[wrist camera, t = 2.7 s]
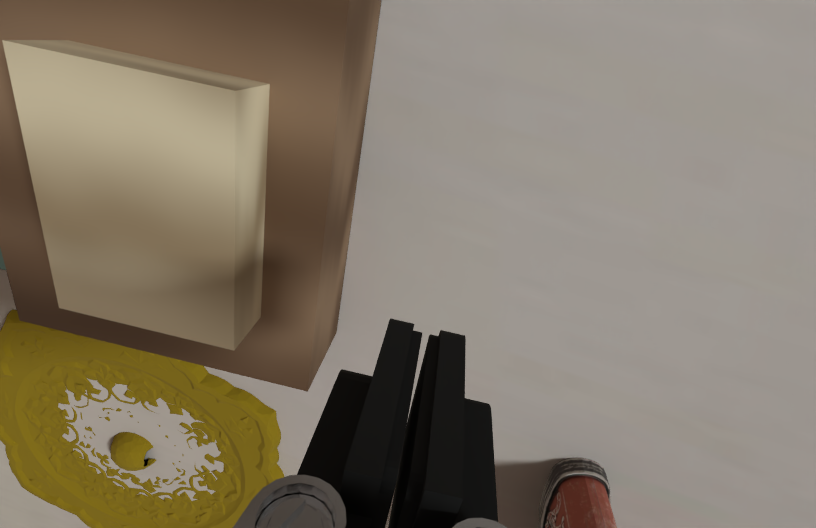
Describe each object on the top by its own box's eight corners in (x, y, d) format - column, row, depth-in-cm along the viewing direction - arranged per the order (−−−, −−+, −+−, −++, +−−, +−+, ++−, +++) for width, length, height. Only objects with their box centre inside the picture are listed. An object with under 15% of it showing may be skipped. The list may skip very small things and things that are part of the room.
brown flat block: (37, -82, 15) (-97, -119, 12) (382, -11, 15) (352, -27, 11) (95, 274, 22) (19, 320, 18) (336, 332, 21) (307, 391, 18)
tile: (68, 40, 13) (2, 39, 11) (269, 84, 13) (235, 90, 11) (104, 279, 17) (58, 308, 15) (260, 317, 16) (233, 350, 14)
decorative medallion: (264, 318, 22) (250, 335, 21) (313, 561, 31) (306, 583, 29) (-74, 299, 25) (-104, 313, 23) (59, 527, 33) (42, 546, 32)
